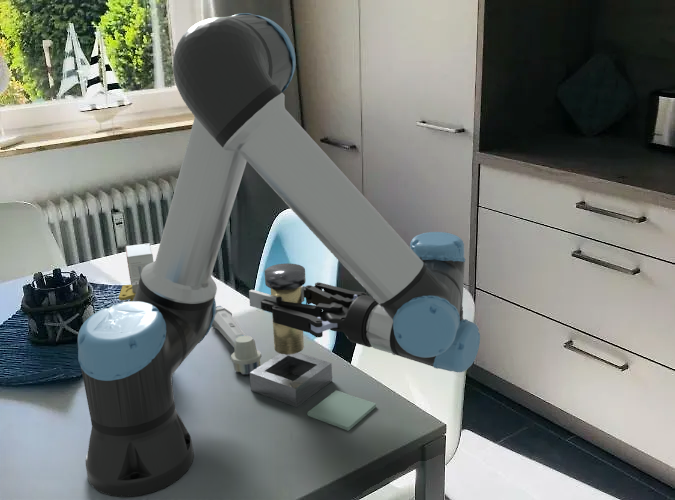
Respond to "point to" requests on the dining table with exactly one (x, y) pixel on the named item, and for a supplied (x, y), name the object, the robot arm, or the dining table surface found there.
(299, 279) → the tan and grey cylinder
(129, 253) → the small box
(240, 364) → the white handheld tool
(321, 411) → the mat
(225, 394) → the dining table surface
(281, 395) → the box
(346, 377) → the dining table surface
